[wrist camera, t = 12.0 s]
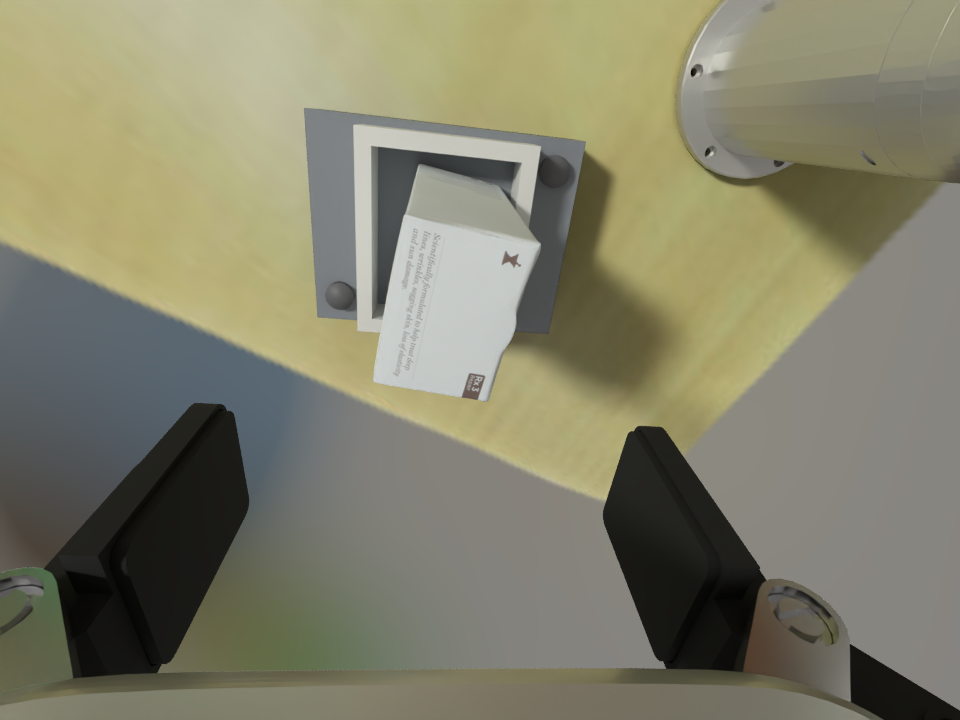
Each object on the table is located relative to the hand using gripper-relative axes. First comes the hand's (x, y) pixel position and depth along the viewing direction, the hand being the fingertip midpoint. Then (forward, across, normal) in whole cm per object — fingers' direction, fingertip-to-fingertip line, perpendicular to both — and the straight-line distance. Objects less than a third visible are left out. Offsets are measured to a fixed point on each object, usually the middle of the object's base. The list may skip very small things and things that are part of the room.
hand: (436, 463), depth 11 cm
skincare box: (+24, 0, 0) cm, 24 cm away
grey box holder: (+28, 0, 0) cm, 28 cm away
